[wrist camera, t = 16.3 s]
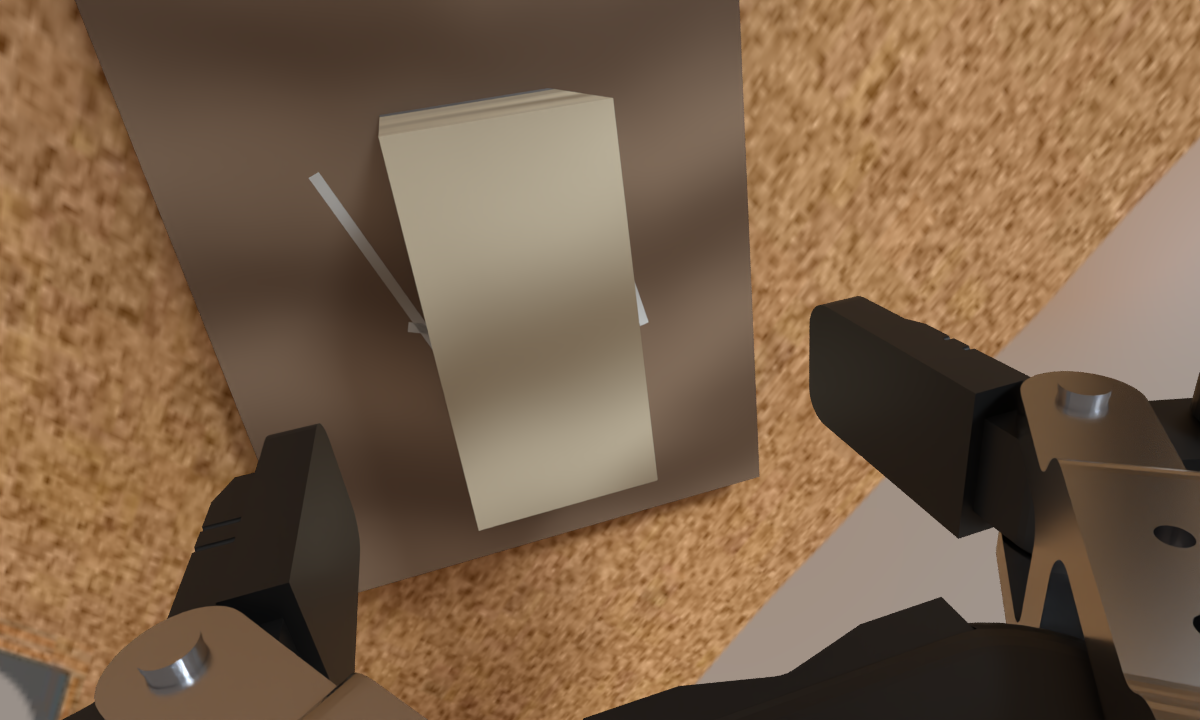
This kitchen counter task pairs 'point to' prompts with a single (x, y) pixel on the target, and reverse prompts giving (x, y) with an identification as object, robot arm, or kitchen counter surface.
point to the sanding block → (527, 294)
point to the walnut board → (376, 242)
